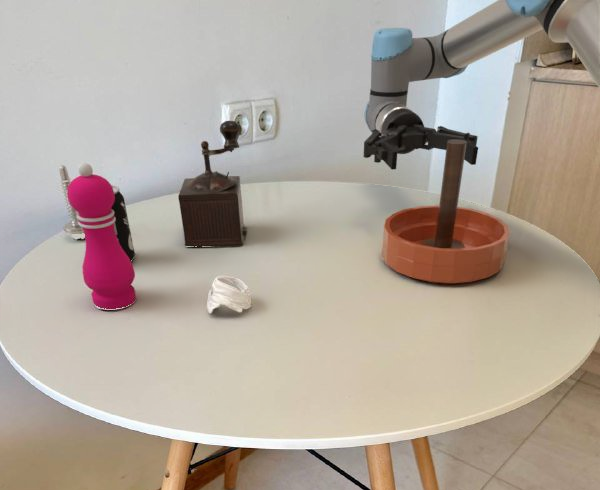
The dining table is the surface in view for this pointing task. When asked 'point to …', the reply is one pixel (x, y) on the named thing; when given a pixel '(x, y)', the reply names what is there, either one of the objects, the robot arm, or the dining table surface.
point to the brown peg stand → (449, 197)
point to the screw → (73, 225)
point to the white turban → (229, 294)
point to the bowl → (444, 261)
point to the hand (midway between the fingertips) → (435, 158)
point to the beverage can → (122, 224)
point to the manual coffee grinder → (214, 200)
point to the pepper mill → (101, 241)
